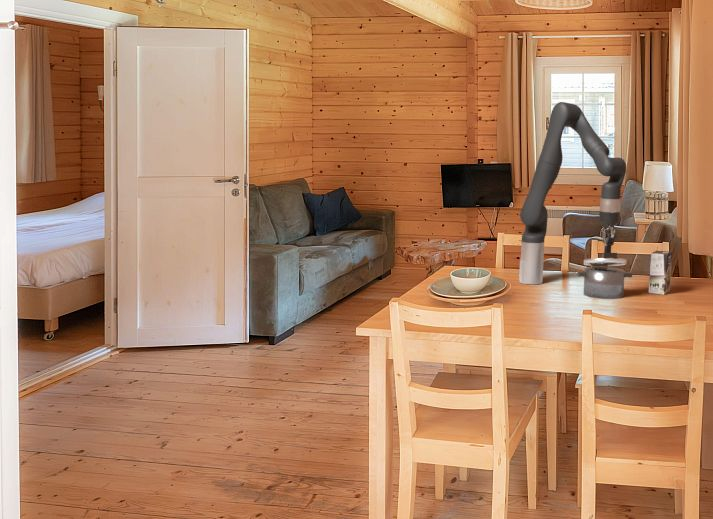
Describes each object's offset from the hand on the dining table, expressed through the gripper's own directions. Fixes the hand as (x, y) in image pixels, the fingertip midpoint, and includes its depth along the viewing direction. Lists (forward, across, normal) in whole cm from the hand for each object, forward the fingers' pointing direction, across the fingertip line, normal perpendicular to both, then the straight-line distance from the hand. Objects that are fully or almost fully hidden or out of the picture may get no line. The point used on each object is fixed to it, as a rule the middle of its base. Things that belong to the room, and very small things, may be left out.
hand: (607, 255), depth 349 cm
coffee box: (+16, -11, +24) cm, 31 cm away
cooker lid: (+4, -3, 0) cm, 5 cm away
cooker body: (+16, -3, 0) cm, 16 cm away
